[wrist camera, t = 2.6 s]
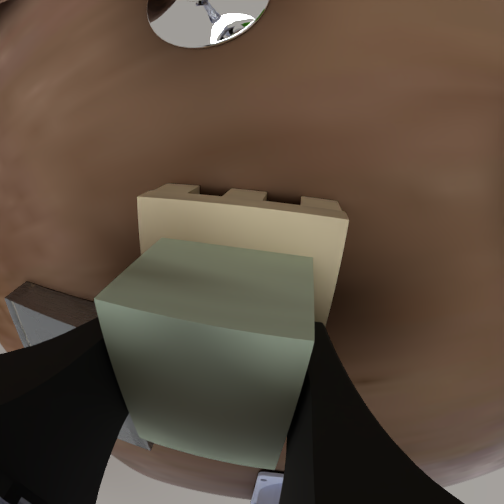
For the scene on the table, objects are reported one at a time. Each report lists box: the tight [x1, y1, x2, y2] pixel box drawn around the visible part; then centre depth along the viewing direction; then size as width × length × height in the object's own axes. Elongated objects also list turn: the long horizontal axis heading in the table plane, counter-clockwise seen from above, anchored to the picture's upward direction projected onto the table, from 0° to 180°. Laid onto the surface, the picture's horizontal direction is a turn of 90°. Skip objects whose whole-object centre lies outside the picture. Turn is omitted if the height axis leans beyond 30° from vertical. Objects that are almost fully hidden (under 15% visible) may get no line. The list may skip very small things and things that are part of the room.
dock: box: [5, 281, 154, 451], centre depth 14 cm, size 10×8×2 cm
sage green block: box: [94, 183, 349, 470], centre depth 9 cm, size 8×6×6 cm
